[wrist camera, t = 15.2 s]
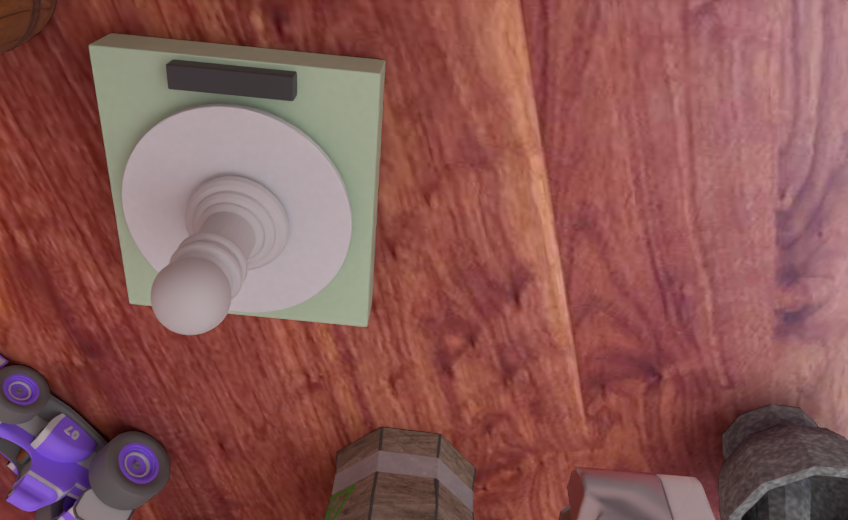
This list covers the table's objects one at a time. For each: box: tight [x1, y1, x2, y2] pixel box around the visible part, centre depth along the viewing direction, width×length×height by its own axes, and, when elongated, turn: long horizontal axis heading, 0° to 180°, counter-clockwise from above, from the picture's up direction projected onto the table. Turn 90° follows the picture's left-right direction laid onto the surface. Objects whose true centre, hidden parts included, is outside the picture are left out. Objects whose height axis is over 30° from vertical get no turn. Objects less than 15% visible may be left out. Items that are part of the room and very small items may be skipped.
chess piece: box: [151, 176, 289, 335], centre depth 32 cm, size 5×5×9 cm
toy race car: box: [0, 355, 170, 520], centre depth 47 cm, size 10×15×6 cm, turn 44°
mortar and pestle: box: [718, 405, 848, 520], centre depth 42 cm, size 11×9×12 cm
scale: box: [88, 33, 386, 327], centre depth 38 cm, size 15×14×4 cm
